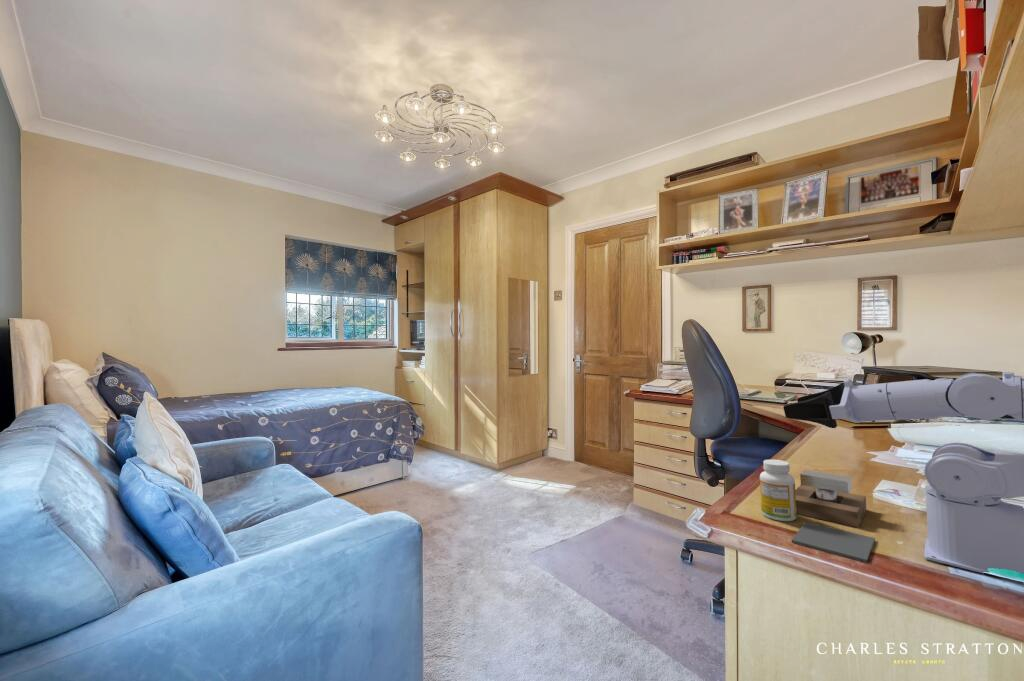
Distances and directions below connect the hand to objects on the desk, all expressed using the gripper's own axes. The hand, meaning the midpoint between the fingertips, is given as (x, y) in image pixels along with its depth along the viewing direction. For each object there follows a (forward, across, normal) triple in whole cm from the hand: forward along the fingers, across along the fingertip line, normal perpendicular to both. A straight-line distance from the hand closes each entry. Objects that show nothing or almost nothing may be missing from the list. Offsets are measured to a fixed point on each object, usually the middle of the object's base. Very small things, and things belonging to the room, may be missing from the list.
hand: (792, 407), depth 74 cm
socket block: (0, -6, +20) cm, 21 cm away
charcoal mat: (-3, +8, +20) cm, 22 cm away
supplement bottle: (+6, +3, +19) cm, 20 cm away
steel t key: (0, -6, +20) cm, 21 cm away
